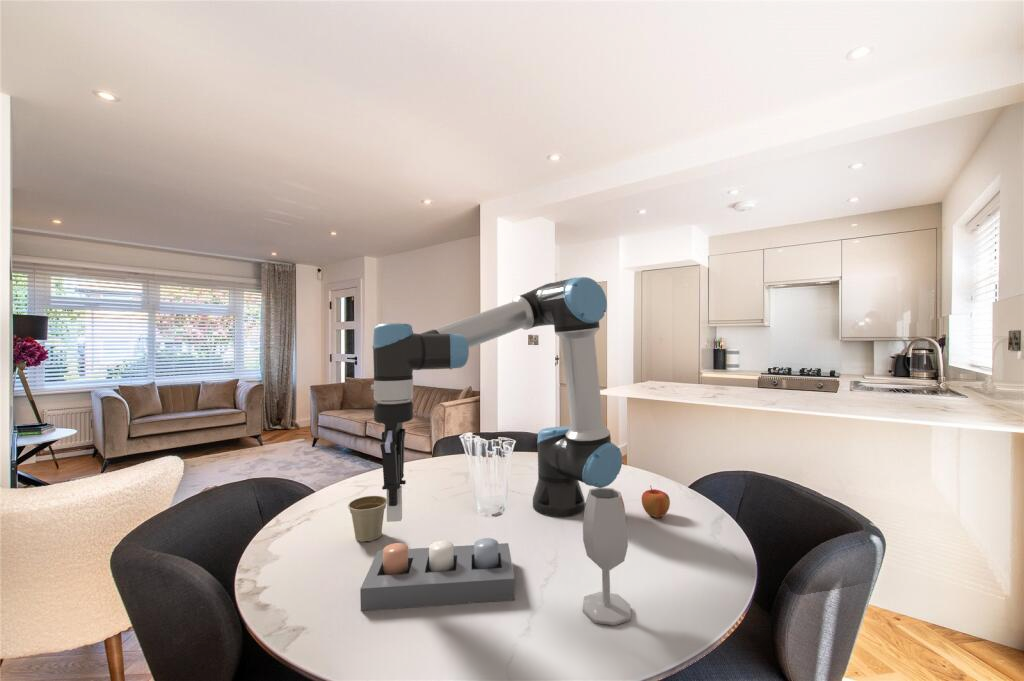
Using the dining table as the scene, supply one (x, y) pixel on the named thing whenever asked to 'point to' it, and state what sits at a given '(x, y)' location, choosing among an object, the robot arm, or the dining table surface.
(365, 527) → the flower pot
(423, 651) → the dining table surface
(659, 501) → the apple
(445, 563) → the ivory key
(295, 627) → the dining table surface
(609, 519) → the wineglass
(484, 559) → the slate key
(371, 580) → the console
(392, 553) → the terracotta key
